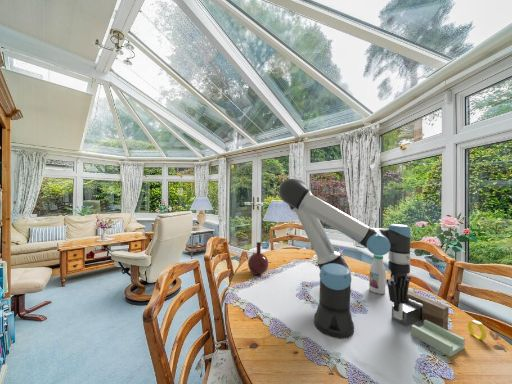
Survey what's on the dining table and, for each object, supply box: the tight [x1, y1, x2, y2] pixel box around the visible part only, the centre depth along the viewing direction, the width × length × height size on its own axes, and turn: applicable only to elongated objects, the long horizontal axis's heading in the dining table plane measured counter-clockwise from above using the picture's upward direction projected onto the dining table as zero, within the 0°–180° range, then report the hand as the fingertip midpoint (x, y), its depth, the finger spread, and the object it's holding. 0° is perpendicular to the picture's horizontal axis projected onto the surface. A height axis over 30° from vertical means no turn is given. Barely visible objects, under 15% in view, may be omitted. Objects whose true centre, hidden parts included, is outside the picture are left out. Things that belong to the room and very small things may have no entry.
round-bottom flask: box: [247, 241, 269, 275], centre depth 137 cm, size 13×13×20 cm
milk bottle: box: [368, 254, 387, 295], centre depth 117 cm, size 8×8×20 cm
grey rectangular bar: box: [391, 299, 423, 327], centre depth 93 cm, size 18×6×6 cm, turn 115°
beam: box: [404, 290, 449, 330], centre depth 93 cm, size 4×18×9 cm, turn 26°
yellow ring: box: [467, 319, 487, 341], centre depth 82 cm, size 6×3×6 cm, turn 175°
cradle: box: [410, 320, 466, 358], centre depth 79 cm, size 12×10×4 cm
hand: (397, 317), depth 89 cm, fingers closed
